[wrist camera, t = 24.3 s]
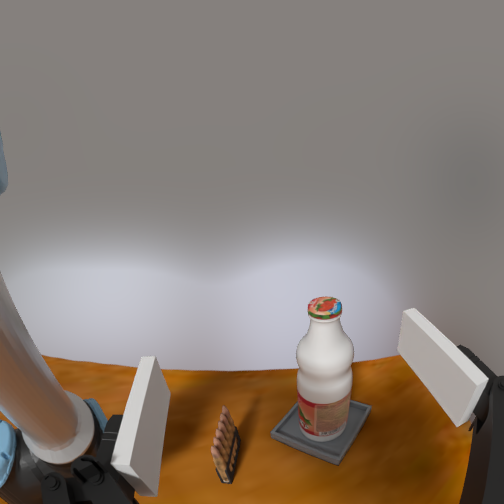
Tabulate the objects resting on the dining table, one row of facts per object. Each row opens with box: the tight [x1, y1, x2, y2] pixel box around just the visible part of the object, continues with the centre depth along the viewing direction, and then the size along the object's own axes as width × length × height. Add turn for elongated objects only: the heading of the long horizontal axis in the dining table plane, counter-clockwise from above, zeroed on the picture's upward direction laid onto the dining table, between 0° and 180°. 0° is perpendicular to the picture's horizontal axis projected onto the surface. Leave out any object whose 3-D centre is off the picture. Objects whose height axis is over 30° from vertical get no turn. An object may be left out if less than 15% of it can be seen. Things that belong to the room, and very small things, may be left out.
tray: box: [270, 400, 372, 466], centre depth 50 cm, size 15×15×2 cm
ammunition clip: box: [211, 406, 241, 484], centre depth 43 cm, size 11×2×12 cm, turn 173°
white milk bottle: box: [296, 297, 354, 442], centre depth 45 cm, size 9×9×28 cm
